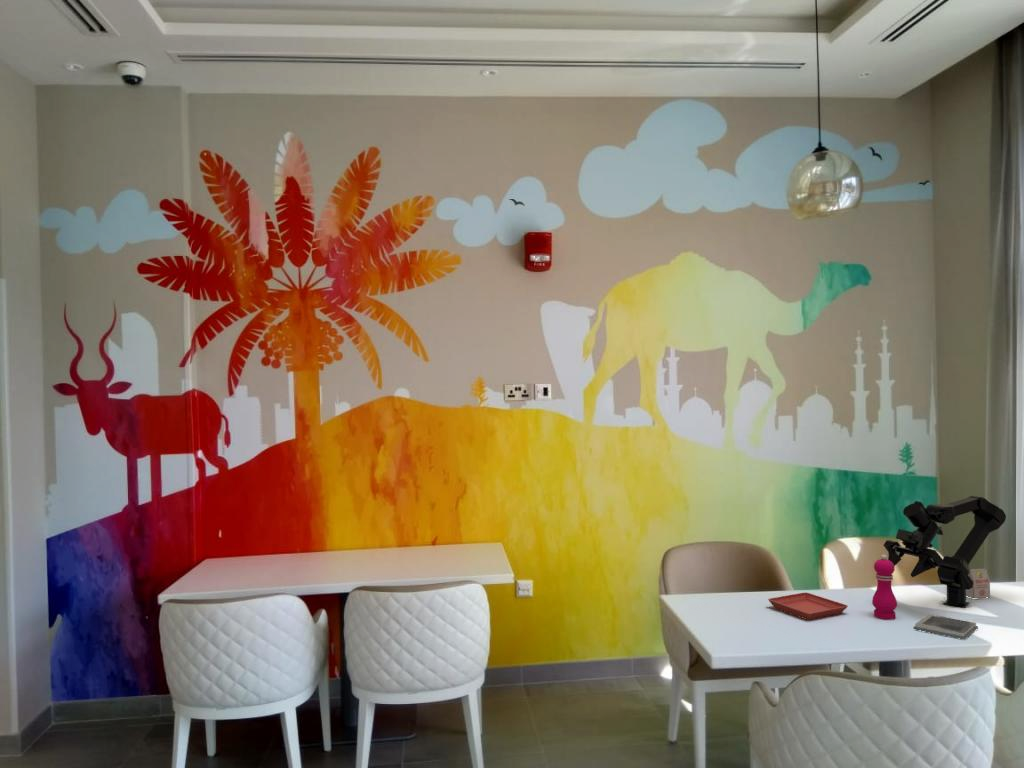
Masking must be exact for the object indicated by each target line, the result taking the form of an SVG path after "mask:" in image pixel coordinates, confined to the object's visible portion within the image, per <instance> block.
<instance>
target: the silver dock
mask: <svg viewBox="0 0 1024 768" xmlns="http://www.w3.org/2000/svg"><path fill="white" fill-rule="evenodd" d="M977 628H978V629H979V626H978V625H977V623H976V622H973V621H968V620H961V619H957V618H951V617H945V616H941V615H935V614H927V615H925V616H924V617H923V618H922V619H920V620H918V621H917V622H916V623H915V625H914V626H913V628H912V629H917V630H921V631H920V632H922V631H926V632H925V633H927V632H930V633H929V634H932V633H934V634H933V635H937V634H938V636H942V635H945V636H944V637H947V636H950V637H949V638H952V637H954V639H957V638H960V639H959V640H962V639H966V638H967V637H968V636H969V637H970V636H971V635H972V633H973V632H974V631H975V630H976V629H977ZM978 629H977V630H978ZM917 630H916V631H917ZM977 630H976V631H977ZM976 631H975V632H976ZM975 632H974V633H975ZM974 633H973V634H974ZM969 637H968V638H969ZM968 638H967V639H968ZM967 639H966V640H967Z"/></svg>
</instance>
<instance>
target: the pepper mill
mask: <svg viewBox="0 0 1024 768" xmlns="http://www.w3.org/2000/svg"><path fill="white" fill-rule="evenodd" d="M873 568H874V571H875V579H876V580H877V582H876V583H877V584H876V585H877V586H876V590H875V592H874V593H873V596H872V603H871V605H872V606H873V607H874V608H875V609H873V616H874V617H875V618H877V619H880V618H881V619H882V620H895V619H896V611H894V610H896V608H897V607H898V603H897V598H896V596H895V594H894V591H893V589H892V581H893V580H894V579H893V578H894V576H893V573H894V572H895V568H896V567H895V566H894V564H893V563H892V562H891V561H889V560H888V556H887V555H886V554H881V556H880V559H877V560H875V562H874V563H873Z"/></svg>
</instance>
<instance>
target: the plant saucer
mask: <svg viewBox="0 0 1024 768" xmlns="http://www.w3.org/2000/svg"><path fill="white" fill-rule="evenodd" d="M767 600H768V601H769V602H770V604H771V605H772V606H773V607H774V608H775V609H776V610H780V611H781V610H782V612H784V611H785V612H784V613H787V612H788V614H790V613H791V615H793V614H794V615H793V616H796V615H797V616H796V617H799V616H800V617H799V618H801V617H803V618H802V619H804V618H806V619H805V620H807V619H811V620H814V618H816V619H820V618H819V617H821V618H824V616H826V617H830V616H829V615H831V616H835V615H834V614H836V615H839V613H840V614H842V613H843V612H844V611H845V610H846V609H847V608H848V607H849V606H848V604H844V603H842V602H838V601H835V600H832V599H829V598H825V597H823V596H820V595H816V594H812V593H810V592H805V591H804V592H799V593H795V594H788V595H782V596H776V597H772V598H770V597H769V598H768V599H767Z"/></svg>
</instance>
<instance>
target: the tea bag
mask: <svg viewBox="0 0 1024 768" xmlns="http://www.w3.org/2000/svg"><path fill="white" fill-rule="evenodd" d="M968 576H969V577H970V578H971V580H972V581H973V582H974V583H973V587H972V588H971V589H970V590H967V589H966V596H968V597H971V598H986V597H988V598H989V597H990V598H991V580H990V578H989V575H988V572H987V568H984V567H983V568H971V569H970V568H969V574H968Z"/></svg>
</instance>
